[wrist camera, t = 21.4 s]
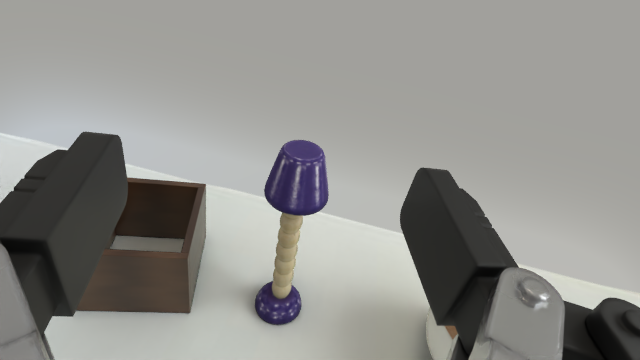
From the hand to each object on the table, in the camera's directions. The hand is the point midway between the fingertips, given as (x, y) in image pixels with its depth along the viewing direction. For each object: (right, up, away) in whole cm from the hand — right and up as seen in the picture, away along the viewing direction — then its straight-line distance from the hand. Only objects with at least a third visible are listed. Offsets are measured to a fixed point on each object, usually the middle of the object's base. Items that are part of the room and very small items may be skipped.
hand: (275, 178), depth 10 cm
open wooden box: (-15, -8, +25) cm, 30 cm away
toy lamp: (-3, -11, +25) cm, 27 cm away
